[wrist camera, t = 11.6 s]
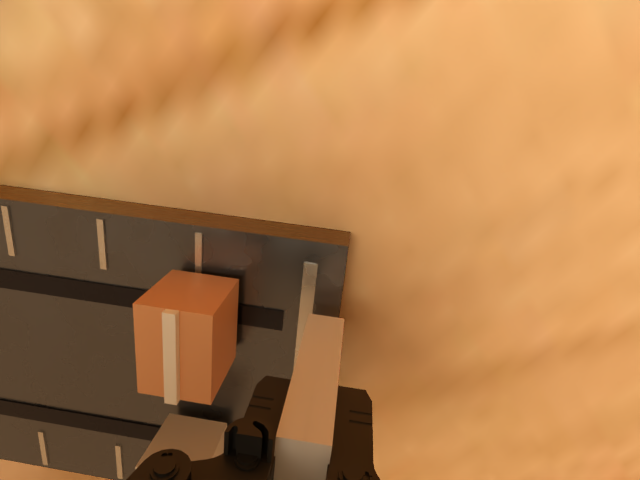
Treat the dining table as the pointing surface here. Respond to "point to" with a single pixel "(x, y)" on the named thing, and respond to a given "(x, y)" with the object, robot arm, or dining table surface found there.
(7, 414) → the console
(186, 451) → the fader ivory
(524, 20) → the dining table surface
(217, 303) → the fader terracotta
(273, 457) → the robot arm
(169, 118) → the dining table surface
